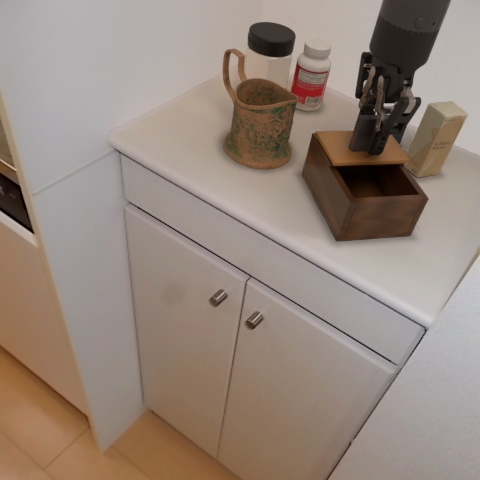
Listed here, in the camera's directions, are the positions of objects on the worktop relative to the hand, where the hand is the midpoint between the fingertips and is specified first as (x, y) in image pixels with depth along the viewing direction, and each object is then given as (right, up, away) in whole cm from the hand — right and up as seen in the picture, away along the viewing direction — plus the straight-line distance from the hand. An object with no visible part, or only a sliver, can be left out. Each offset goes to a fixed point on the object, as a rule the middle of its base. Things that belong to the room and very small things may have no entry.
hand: (366, 143), depth 75 cm
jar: (-14, +16, +23) cm, 32 cm away
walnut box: (-1, -7, +6) cm, 9 cm away
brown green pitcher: (-17, +5, +14) cm, 22 cm away
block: (+8, +7, +19) cm, 22 cm away
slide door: (0, 0, +2) cm, 2 cm away
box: (+13, 0, +15) cm, 19 cm away
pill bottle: (-6, +16, +24) cm, 29 cm away
